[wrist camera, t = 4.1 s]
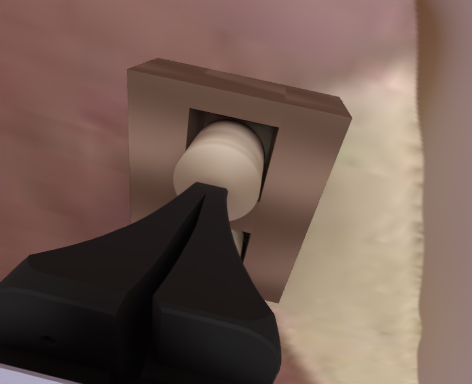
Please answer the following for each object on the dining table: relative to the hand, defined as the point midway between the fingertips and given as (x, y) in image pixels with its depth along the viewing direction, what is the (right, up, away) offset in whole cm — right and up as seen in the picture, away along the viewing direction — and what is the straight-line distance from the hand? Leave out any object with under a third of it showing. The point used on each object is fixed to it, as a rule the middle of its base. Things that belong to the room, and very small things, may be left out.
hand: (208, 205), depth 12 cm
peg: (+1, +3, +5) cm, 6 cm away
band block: (+1, +2, +9) cm, 9 cm away
